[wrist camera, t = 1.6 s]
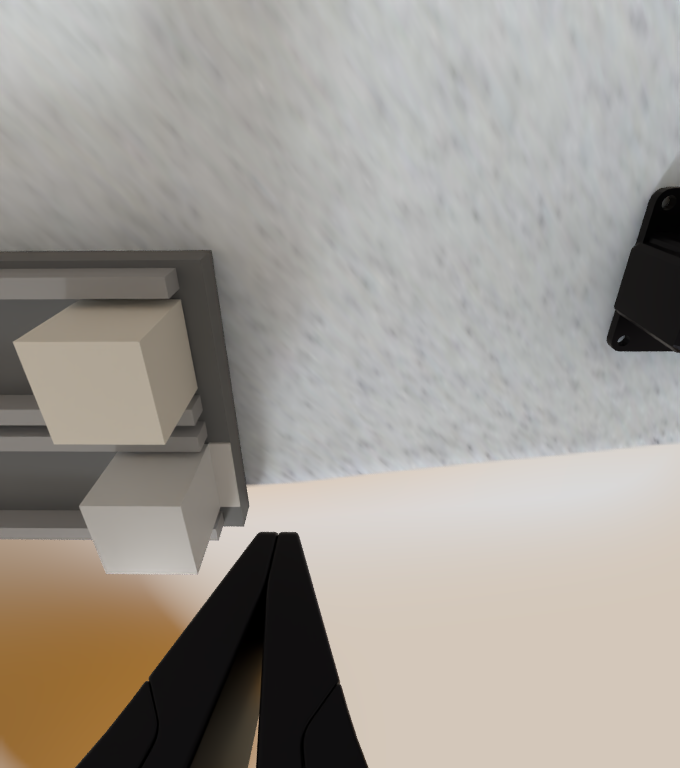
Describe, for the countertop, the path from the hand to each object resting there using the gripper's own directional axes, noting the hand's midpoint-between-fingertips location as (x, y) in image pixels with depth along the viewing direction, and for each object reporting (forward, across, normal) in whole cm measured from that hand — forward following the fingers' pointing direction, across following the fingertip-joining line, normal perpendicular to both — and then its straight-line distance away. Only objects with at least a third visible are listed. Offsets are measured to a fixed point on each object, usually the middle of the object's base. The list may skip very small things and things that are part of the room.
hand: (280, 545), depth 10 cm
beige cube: (+10, +7, 0) cm, 12 cm away
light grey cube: (+10, +7, +7) cm, 14 cm away
